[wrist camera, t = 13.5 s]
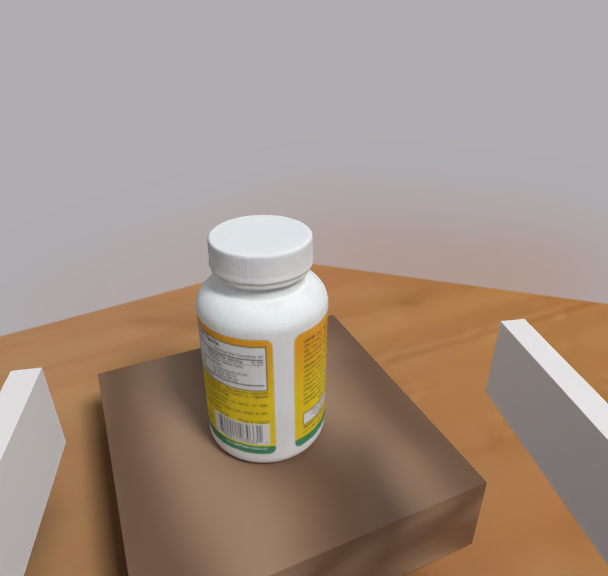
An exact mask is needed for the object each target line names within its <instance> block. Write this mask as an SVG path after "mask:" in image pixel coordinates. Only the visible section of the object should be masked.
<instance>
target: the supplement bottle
mask: <svg viewBox="0 0 608 576" xmlns="http://www.w3.org/2000/svg"><path fill="white" fill-rule="evenodd" d="M208 253H209V266H210V269H211V271H212V273H213V274H212V275H211V276H210V277H209V278H208V279H207V280H206V281H205V282H204V283H203V285H202V286H201V288H200V290H199V293H198V296H197V301H196V310H197V320H198V329H199V338H200V347H201V355H202V363H203V372H204V380H205V388H206V398H207V407H208V416H209V423H210V429H211V432H212V434H213V437H214V439H215V440H216V442H217V443H218V444H219V445H220V447H221V448H223V449H224V450H225V451H227V452H228V453H229V454H231V455H233V456H235V457H237V458H240V459H242V460H246V461H250V462H258V463H270V462H278V461H282V460H286V459H289V458H291V457H294V456H296V455H298V454H299V453H301V452H303V451H304V450H305V449H307V448H308V447H309V446H310V445H311V444H312V443H313V442H314V440H315V439H316V438H317V436H318V435H319V433H320V432H321V429H322V427H323V423H324V416H325V385H326V352H327V325H328V295H327V291H326V289H325V286H324V284H323V283H322V281H321V280H320V279H319V277H318V276H317V275H315V274H314V273H313V272H312V271H311V270H310V267H311V266H312V264H313V259H314V258H313V236H312V232H311V230H310V229H309V228H308V227H307V226H306V225H305V224H303V223H301V222H299V221H297V220H294V219H291V218H287V217H283V216H275V215H252V216H244V217H239V218H235V219H231V220H228V221H225V222H223V223H221V224H219V225H218V226H216V227H214V228H213V229H212V230H211V231H210V233H209V235H208Z"/></svg>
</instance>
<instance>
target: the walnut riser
mask: <svg viewBox="0 0 608 576" xmlns="http://www.w3.org/2000/svg"><path fill="white" fill-rule="evenodd" d="M98 378H99V384H100V391H101V397H102V404H103V411H104V417H105V424H106V431H107V437H108V444H109V450H110V457H111V464H112V470H113V477H114V484H115V490H116V497H117V503H118V510H119V517H120V523H121V530H122V537H123V543H124V550H125V556H126V563H127V570H128V576H404V575H406V574H408V573H410V572H412V571H414V570H416V569H418V568H421V567H423V566H425V565H427V564H429V563H431V562H433V561H435V560H437V559H440V558H442V557H444V556H446V555H448V554H450V553H452V552H454V551H456V550H459V549H461V548H463V547H465V546H467V545H469V544H471V543H472V540H473V536H474V532H475V528H476V524H477V520H478V516H479V512H480V508H481V504H482V500H483V496H484V492H485V488H486V484H487V482H486V481H485V480H484V479H483V478H482V477H481V476H480V475H479V473H478V472H477V471H476V470H475V469H474V468H473V467H472V466H471V465H470V464H469V463H468V461H467V460H466V459H465V458H464V457H463V456H462V455H461V454H460V453H459V452H458V451H457V449H456V448H455V447H454V446H453V445H452V444H451V443H450V442H449V441H448V440H447V439H446V437H445V436H444V435H443V434H442V433H441V432H440V431H439V430H438V429H437V428H436V427H435V425H434V424H433V423H432V422H431V421H430V420H429V419H428V418H427V417H426V416H425V415H424V413H423V412H422V411H421V410H420V409H419V408H418V407H417V406H416V405H415V404H414V403H413V402H412V400H411V399H410V398H409V397H408V396H407V395H406V394H405V393H404V392H403V391H402V390H401V388H400V387H399V386H398V385H397V384H396V383H395V382H394V381H393V380H392V379H391V378H390V376H389V375H388V374H387V373H386V372H385V371H384V370H383V369H382V368H381V367H380V366H379V364H378V363H377V362H376V361H375V360H374V359H373V358H372V357H371V356H370V355H369V354H368V352H367V351H366V350H365V349H364V348H363V347H362V346H361V345H360V344H359V343H358V342H357V340H356V339H355V338H354V337H353V336H352V335H351V334H350V333H349V332H348V331H347V330H346V329H345V327H344V326H343V325H342V324H341V323H340V322H339V321H338V320H337V319H336V318H335V317H334V315H332V316H328V325H327V352H326V385H325V416H324V423H323V427H322V429H321V432H320V433H319V435H318V436H317V438H316V439H315V440H314V442H313V443H312V444H311V445H310V446H309V447H308V448H307V449H305V450H304V451H303V452H301V453H299V454H298V455H296V456H294V457H291V458H289V459H286V460H282V461H278V462H270V463H258V462H250V461H246V460H242V459H240V458H237V457H235V456H233V455H231V454H229V453H228V452H227V451H225V450H224V449H223V448H221V447H220V445H219V444H218V443H217V442H216V440H215V439H214V437H213V434H212V432H211V429H210V423H209V416H208V407H207V398H206V388H205V380H204V372H203V363H202V355H201V348H200V349H196V350H192V351H188V352H184V353H180V354H176V355H172V356H168V357H164V358H160V359H156V360H152V361H148V362H144V363H140V364H136V365H132V366H128V367H124V368H120V369H116V370H112V371H108V372H104V373H100V374H98Z"/></svg>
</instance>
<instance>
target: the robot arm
mask: <svg viewBox="0 0 608 576" xmlns="http://www.w3.org/2000/svg"><path fill="white" fill-rule="evenodd" d="M486 393H487V394H488V396H489V397H490V399H491V400H492V402H493V403H494V404H495V406H496V407H497V409H498V410H499V411H500V413H501V414H502V416H503V417H504V419H505V420H506V421H507V423H508V424H509V426H510V427H511V428H512V430H513V431H514V433H515V434H516V436H517V437H518V438H519V440H520V441H521V443H522V444H523V445H524V447H525V448H526V450H527V451H528V453H529V454H530V455H531V457H532V458H533V460H534V461H535V463H536V464H537V465H538V467H539V468H540V470H541V471H542V472H543V474H544V475H545V477H546V478H547V480H548V481H549V482H550V484H551V485H552V487H553V488H554V489H555V491H556V492H557V494H558V495H559V497H560V498H561V499H562V501H563V502H564V504H565V505H566V507H567V508H568V509H569V511H570V512H571V514H572V515H573V516H574V518H575V519H576V521H577V522H578V524H579V525H580V526H581V528H582V529H583V531H584V532H585V533H586V535H587V536H588V538H589V539H590V541H591V542H592V543H593V545H594V546H595V548H596V549H597V550H598V552H599V553H600V555H601V556H602V558H603V559H604V560H605V562H606V563H607V565H608V403H607V402H606V401H605V400H604V399H603V398H602V397H601V396H600V395H599V394H598V393H597V392H596V391H595V390H594V389H593V388H592V387H591V386H590V385H589V384H588V383H587V382H586V381H585V380H584V379H583V378H582V377H581V376H580V375H579V374H578V373H577V372H576V371H575V370H574V369H573V368H572V367H571V366H570V365H569V364H568V363H567V362H566V361H565V360H564V359H563V358H562V357H561V356H560V355H559V354H558V353H557V352H556V351H555V350H554V349H553V348H552V347H551V346H550V345H549V344H548V343H547V341H546V340H545V339H544V338H543V337H542V336H541V335H540V334H539V333H538V332H537V331H536V330H535V329H534V328H533V327H532V326H531V325H530V324H529V323H528V322H527V321H526V320H525V319H519V320H509V321H501V323H500V327H499V332H498V337H497V341H496V346H495V351H494V355H493V360H492V364H491V369H490V374H489V378H488V383H487V387H486ZM65 444H66V441H65V438H64V435H63V432H62V429H61V425H60V422H59V419H58V416H57V413H56V410H55V407H54V404H53V401H52V398H51V395H50V392H49V388H48V385H47V382H46V379H45V376H44V373H43V370H42V368H34V369H24V370H14V371H11V372H10V374H9V376H8V378H7V380H6V382H5V384H4V386H3V388H2V389H1V391H0V576H24V573H25V570H26V567H27V564H28V561H29V558H30V554H31V551H32V548H33V545H34V542H35V539H36V535H37V532H38V529H39V526H40V523H41V520H42V516H43V513H44V510H45V507H46V504H47V501H48V497H49V494H50V491H51V488H52V485H53V482H54V478H55V475H56V472H57V469H58V466H59V463H60V460H61V456H62V453H63V450H64V447H65Z"/></svg>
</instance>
